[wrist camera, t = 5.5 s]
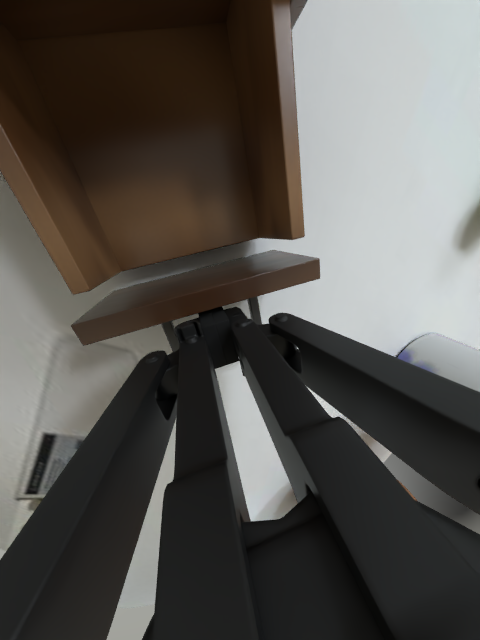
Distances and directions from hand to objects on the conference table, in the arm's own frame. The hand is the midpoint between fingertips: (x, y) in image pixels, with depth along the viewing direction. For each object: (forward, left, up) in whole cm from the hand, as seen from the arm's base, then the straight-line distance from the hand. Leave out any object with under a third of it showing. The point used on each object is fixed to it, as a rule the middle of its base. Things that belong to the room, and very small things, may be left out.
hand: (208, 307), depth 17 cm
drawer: (-7, 0, -1) cm, 7 cm away
